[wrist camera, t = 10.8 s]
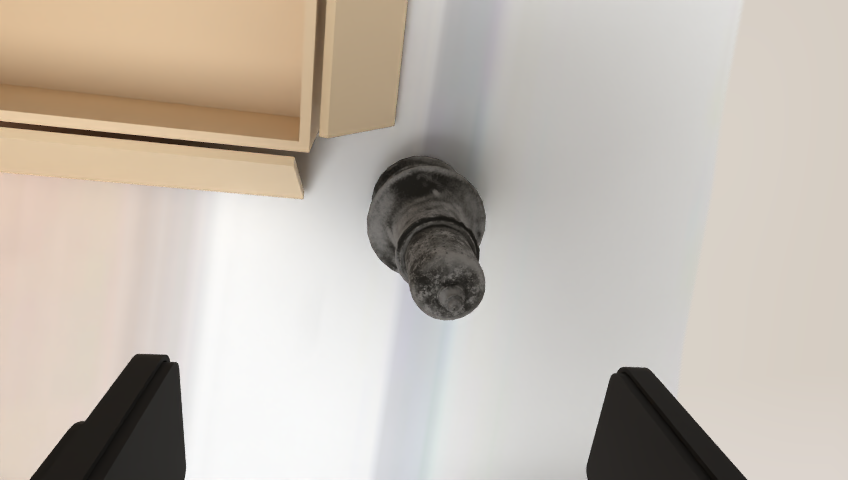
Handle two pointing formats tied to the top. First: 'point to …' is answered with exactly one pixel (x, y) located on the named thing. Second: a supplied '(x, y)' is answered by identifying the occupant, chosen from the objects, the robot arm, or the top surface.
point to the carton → (193, 86)
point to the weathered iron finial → (430, 234)
